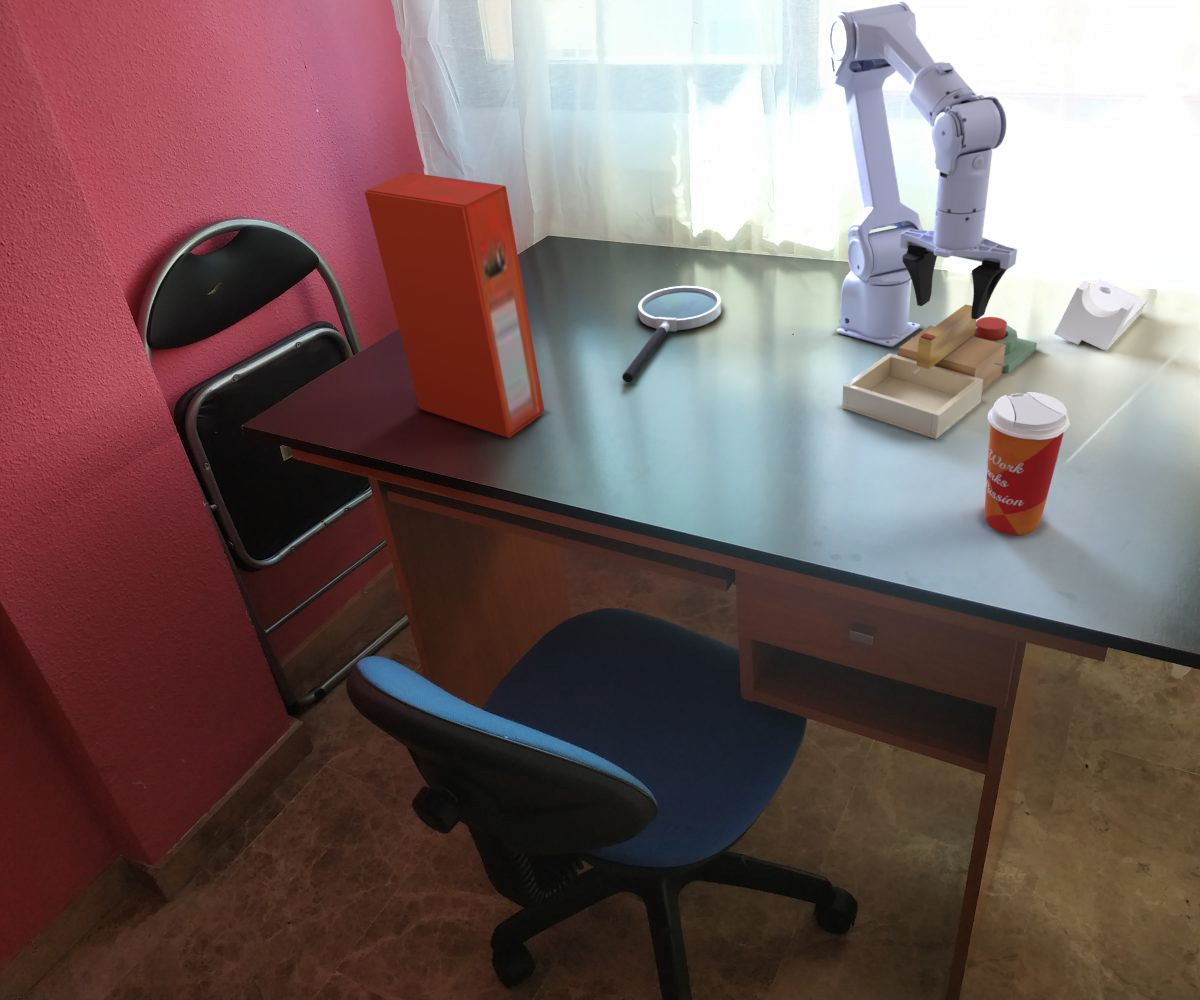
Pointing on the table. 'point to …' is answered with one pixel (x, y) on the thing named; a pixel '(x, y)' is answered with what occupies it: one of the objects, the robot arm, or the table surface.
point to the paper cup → (1022, 459)
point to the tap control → (1015, 349)
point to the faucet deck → (965, 357)
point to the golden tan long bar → (945, 337)
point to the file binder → (458, 298)
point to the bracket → (1099, 314)
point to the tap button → (991, 328)
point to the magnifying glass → (673, 316)
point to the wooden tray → (912, 395)
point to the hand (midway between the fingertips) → (950, 309)
